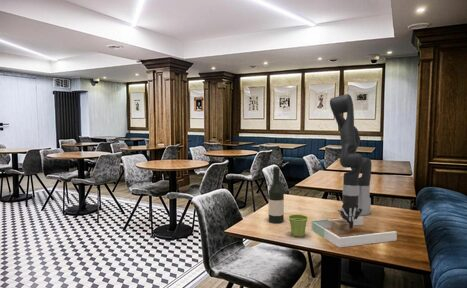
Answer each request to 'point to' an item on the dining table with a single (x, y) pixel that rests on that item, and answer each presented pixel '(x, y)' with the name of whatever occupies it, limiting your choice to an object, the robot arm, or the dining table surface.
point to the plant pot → (298, 224)
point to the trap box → (346, 241)
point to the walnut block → (340, 227)
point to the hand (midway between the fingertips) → (349, 227)
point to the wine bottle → (276, 200)
